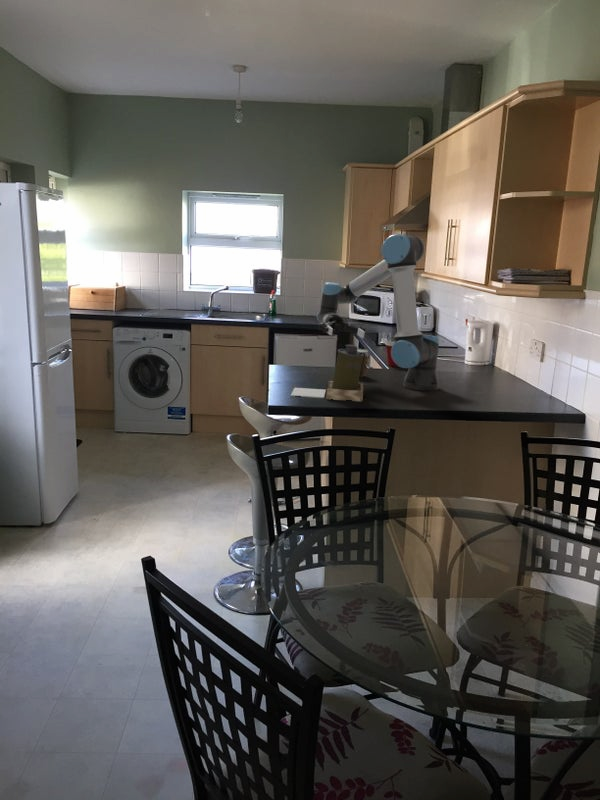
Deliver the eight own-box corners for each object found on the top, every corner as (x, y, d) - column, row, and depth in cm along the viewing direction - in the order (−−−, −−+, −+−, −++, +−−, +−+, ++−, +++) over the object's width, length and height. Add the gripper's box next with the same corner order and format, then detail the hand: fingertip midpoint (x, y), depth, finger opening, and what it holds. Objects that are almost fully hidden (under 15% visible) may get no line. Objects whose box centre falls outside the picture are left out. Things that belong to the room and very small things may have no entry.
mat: (325, 390, 268) (325, 389, 268) (323, 398, 255) (323, 397, 255) (294, 388, 269) (294, 387, 269) (290, 396, 256) (290, 394, 256)
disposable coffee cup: (366, 378, 298) (368, 352, 295) (345, 376, 299) (347, 351, 297) (367, 374, 307) (369, 349, 304) (347, 373, 308) (349, 348, 306)
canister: (335, 397, 254) (344, 347, 249) (327, 389, 264) (335, 341, 259) (360, 399, 258) (370, 350, 252) (352, 391, 267) (360, 344, 262)
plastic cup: (378, 365, 334) (380, 342, 331) (390, 363, 342) (392, 340, 339) (397, 368, 327) (399, 344, 324) (408, 366, 335) (410, 343, 332)
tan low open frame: (362, 392, 268) (363, 383, 267) (362, 401, 253) (363, 391, 252) (328, 390, 269) (328, 381, 268) (326, 399, 254) (326, 389, 253)
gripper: (359, 333, 287) (374, 345, 267) (304, 328, 280) (316, 340, 261) (361, 316, 285) (378, 327, 265) (306, 311, 278) (319, 321, 259)
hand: (347, 333), depth 263 cm, fingers open, 13 cm apart
